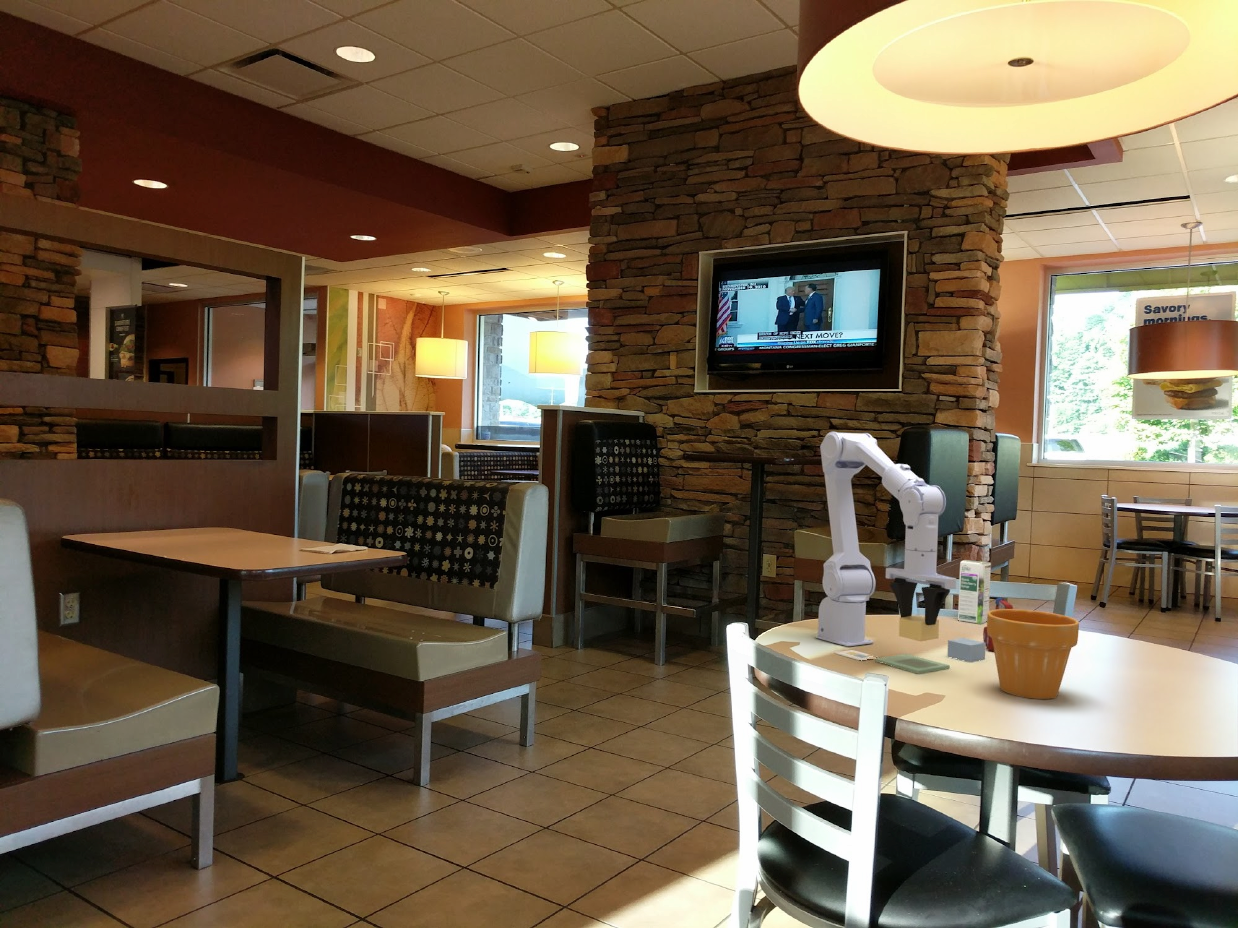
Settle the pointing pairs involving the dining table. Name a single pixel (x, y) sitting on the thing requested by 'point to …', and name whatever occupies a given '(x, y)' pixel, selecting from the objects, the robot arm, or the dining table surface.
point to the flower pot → (1031, 650)
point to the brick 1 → (917, 628)
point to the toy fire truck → (986, 638)
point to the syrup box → (974, 591)
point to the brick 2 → (966, 649)
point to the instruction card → (854, 654)
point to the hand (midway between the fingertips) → (918, 621)
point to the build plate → (913, 663)
